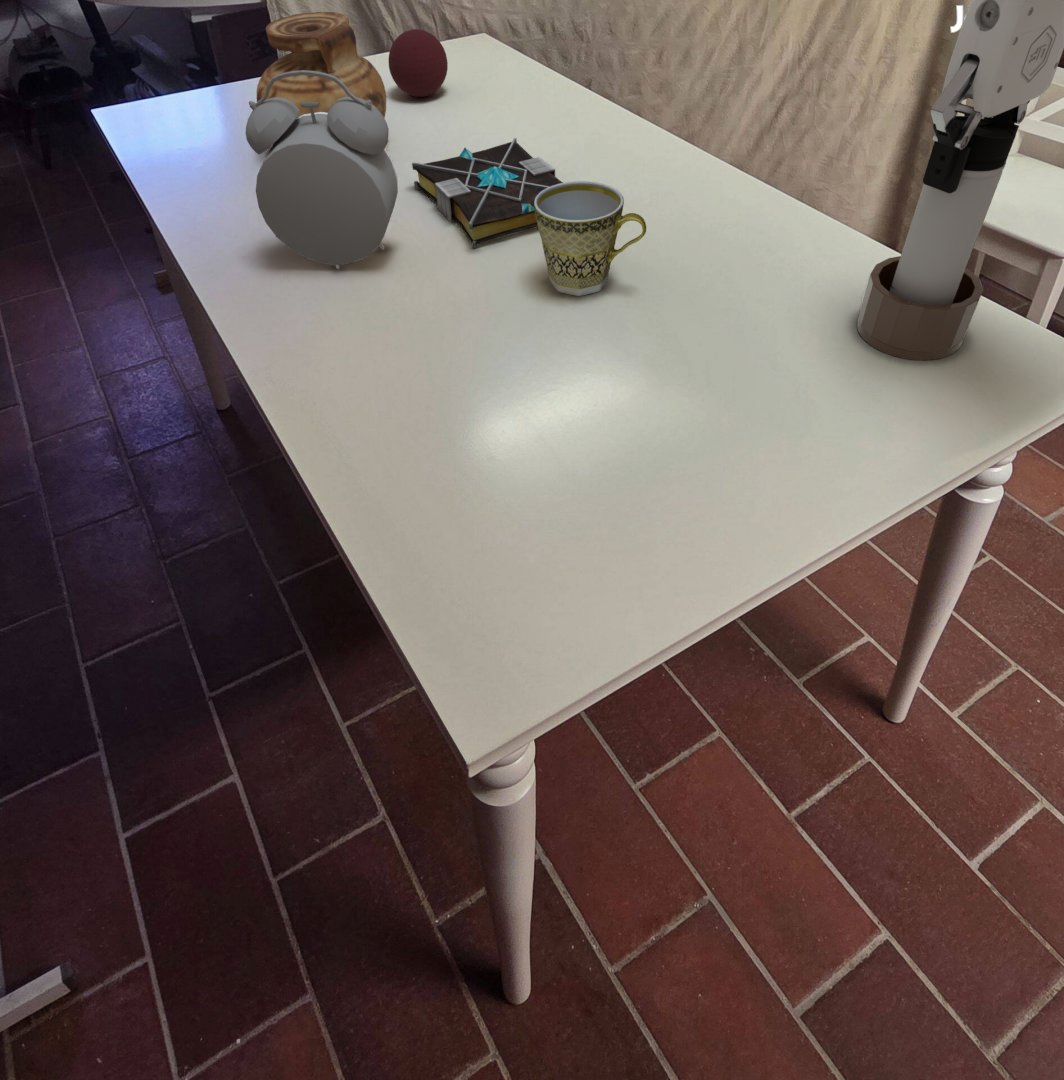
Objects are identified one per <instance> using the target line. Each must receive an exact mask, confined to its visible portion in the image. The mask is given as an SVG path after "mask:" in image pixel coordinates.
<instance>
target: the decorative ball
mask: <svg viewBox="0 0 1064 1080" xmlns="http://www.w3.org/2000/svg"><path fill="white" fill-rule="evenodd" d="M448 65H449V64H448V57H447V53H446V51H445V48H444V46H443V44H442V43H441V41H440V40H439V39H438V38H437V37H436V36H435V35H433V34H432V33H431V32H429V31H428V30H427V31H426V30H424V29H420V28H419V29H417V28H412V29H409V30H405V31H404V32H402V33H401V34H398V36H397V37H396V38H395V40H394V41H393V43H392V44H391V47H390V49H389V52H388V69H389V74H390V75H391V78H392V80H393V82H394V83H395V85H396V87H398V88H399V89H400V91H403V93H405V94H407V95H409V96H412V97H415V98H424V97H429V96H431V95H433V94H434V93H436V92H437V91H439V89H441V87H442V86H443V84H444V82H445V80H446V77H447V75H448V67H449V66H448Z"/></svg>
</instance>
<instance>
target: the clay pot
mask: <svg viewBox="0 0 1064 1080" xmlns="http://www.w3.org/2000/svg"><path fill="white" fill-rule="evenodd" d="M354 30H355V29H353V28H352V26H350V19H349V17H348V16H346V15H345V14H342V13H340V12H335V11H315V12H302V13H295V14H292V15H289V16H283V17H281V18H278V19H276V20H273V21H271V22H269V23H268V24H267V25H266V27H265V33H266V37H267V40H268V45H269V46H271V47H272V48H274V49H276V50H278V51H281V52H282V51H283V52H284V53H286V52H290V53H286V54H284V55H282V56H280V57H279V59H277V60H275V61H274V62H273V63H271V64H270V65H269V66H268V67H267V68H266V69H265V70H264V71H263V73H262V74H261V76H260V78H259V80H258V83H257V85H256V86H257V87H256V103H257V102H258V101H259V100H260V99H262V98H263V96H264V95H265V93H266V88H267V85H268V84H269V82H270V81H271V79H272V78H273V77H274V76H277V75H279V74H281V73H286V72H291V71H299V70H307V71H316V72H322V73H326V74H329V75H332V76H335V77H336V78H338V79H339V80H340V81H341V82H342V83H344V84H345V86H346V87H347V89H348V90H349V91H350V92H351V93H352V94H353V95H354V96H355V97H357V98H361V99H364V100H366V101H368V100H371V102H372V105H373V106H375V107H376V108H377V109H378V110H379V111H380V112H381V114H382V115H383V117H384V119H385V120H386V113H387V92H386V88H385V83H384V81H383V78H382V76H381V74H380V73H379V71H378V70H377V68H376V67H375V66H374V65H373V64H372V63H371V62H370V61H369V59H367V58H365V57H364V56H362V55H361V54H358V51H357V49H358V48H357V38H356V35H355V31H354ZM275 97H280V98H285V99H287V100H289V101H291V102H292V103H294V104H295V105H296V107H297V108H298V109H299V110H300V111H299V114H298V115H297V117H296V118H298V117H300V116H302V115H304V114H310V109H309V108H303V107H302V106H301V103H302V102H319V108H313V110H314V113H317V112H325V113H328V111H329V109H330V107H331V106H332V105H333V104H334V103H335V102H336V101H337V100H338V99H340V98H343V97H349V96H348V95H347V94H346V92H345V91H344V90H343V88H341V87H340V86H339V85H338V84H337V83H336V82H334V81H333V80H330V79H327V78H323V77H317V76H309V75H298V76H291V77H285V78H281V79H279V80H277V81H275V82H274V83H273V85H272V86H271V88H270V92H269V95H268V96H267V98H266V100H267V99H270V98H275ZM296 118H295V119H296Z"/></svg>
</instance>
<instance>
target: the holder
mask: <svg viewBox="0 0 1064 1080" xmlns="http://www.w3.org/2000/svg"><path fill="white" fill-rule="evenodd" d="M900 257H901V255H898V256H893V257H889V258H888V257H887V258H886V259H884V260H882V261H880V262H879V263H877V264H875V266H874V267H873V269H872V270H871V272H870V274H869V277H868V281H867V284H866V287H865V291H864V294H863V299H862V301H861V306H860V309H859V313H858V319H857V323H856V327H857V331H858V333H859V335H860V337H861V338H862V339H863V340H864V342H866V343H867V344H868V345H870V346H871V347H873V348H874V349H876V350H877V351H880V352H882V353H885V354H887V355H889V356H892V357H896V358H901V359H905V360H911V361H912V360H913V361H933V360H938V359H942V358H945V357H948V356H950V355H953V354H954V353H955V352H957V351H958V349H959V348H960V347H961V346H962V344H963V341H964V339H965V336H966V334H967V332H968V329H969V327H970V324H971V322H972V320H973V317H974V315H975V312H976V309H977V307H978V305H979V302H980V300H981V297H982V294H983V292H984V291H985V290H984V289H985V288H984V286H983V284H982V282H981V280H980V277H978V276H977V275H976V274H974V272H972V271H971V270H970V269H969V268H967V267H966V269H965V272H964V274H963V277H962V279H961V282H960V285H959V287H958V290H957V292H956V295H955V298H954V300H953V303H952V304H949V305H924V304H920V303H916V302H911V301H907V300H904V299H902V298H900V297H898V296H896V295H894V294H891V293H890V292H889V291H890V288H891V285H892V282H893V279H894V276H895V273H896V269H897V266H898V263H899V260H900Z"/></svg>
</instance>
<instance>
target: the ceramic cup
mask: <svg viewBox="0 0 1064 1080" xmlns="http://www.w3.org/2000/svg"><path fill="white" fill-rule="evenodd" d="M624 203H625V199H624V196H623V194H622V193H621V192H620V191H619V190H618V189H617V188H614V187H613V186H611V185H608V184H606V183H601V182H597V181H590V180H589V181H588V180H574V181H567V182H566V181H564V182H563V183H560V184H556V185H553V186H550V187H548V188H546V189H544V190H543V191H541V192H540V193H539V194H538V195H537V196H536V198H535V201H534V207H535V214H536V219H537V224H538V227H537V229H538V233H539V236H540V239H541V243H542V249H543V255H544V259H545V263H546V268H547V269H546V270H547V273H548V277H549V282H550V284H552V286H553V287H554V288H555V289H556V291H557V292H558V293H561V294H565V295H566V294H567V295H571V296H576V297H583V296H586V295H591V294H594V293H599V292H601V290H603V288H604V287H605V285H606V284H607V283H608V279H609V273H610V269H611V264H612V262H613V260H614V259H615V257H616V256H617V255H619V254H621V253H622V252H624V251H625V250H626V249H627V248H629V247H630V246H632V245H634V244H635V243H637V242H639V241H640V240H642V239H643V237H644V236H645V235H646V232H647V222H646V221H645V219H644V217H643V216H642V215H640V214H638V213H635V212H629V213H626V214H624V215H623V210H624ZM631 221H633V222H636V223H639V224H640V225H641V229H642V231H641V233H640V234H639V235H638V236H637V237H635V238H632V239H631V240H629V241H628V242H626V243H625V244H623V246H621V247H620V248H618V249H616V248H615V246H616V241H617V237H618V233H619V231H620V229H621V228H622V226H623V225H624V224H625V223H628V222H631Z"/></svg>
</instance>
